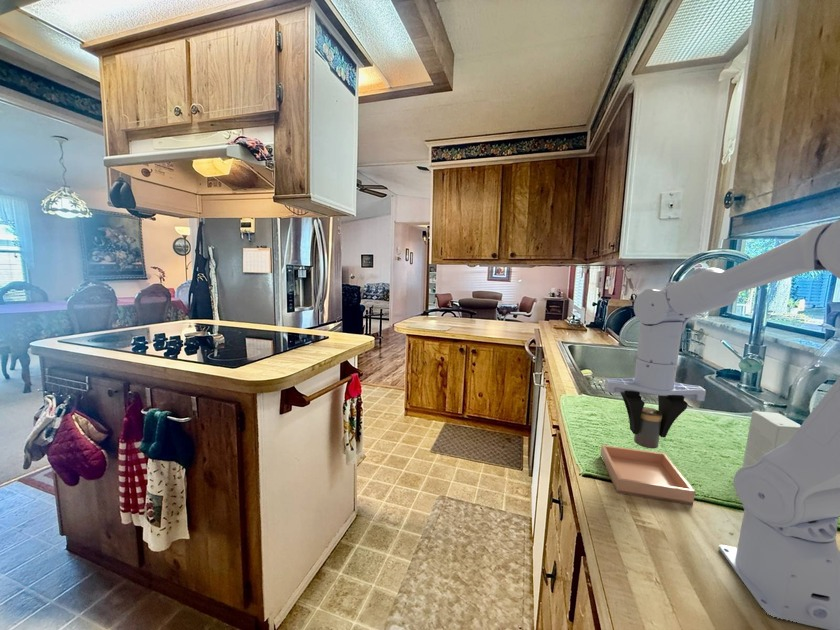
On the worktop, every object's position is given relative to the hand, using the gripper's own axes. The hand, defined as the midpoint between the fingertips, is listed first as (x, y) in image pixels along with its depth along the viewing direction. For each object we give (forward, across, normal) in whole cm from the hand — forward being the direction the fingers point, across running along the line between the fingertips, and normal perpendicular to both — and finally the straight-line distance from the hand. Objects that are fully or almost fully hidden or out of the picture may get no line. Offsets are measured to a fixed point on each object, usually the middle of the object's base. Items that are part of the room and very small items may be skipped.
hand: (647, 433), depth 59 cm
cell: (+2, 0, 0) cm, 2 cm away
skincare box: (+9, -22, -5) cm, 24 cm away
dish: (+9, 0, 0) cm, 9 cm away
